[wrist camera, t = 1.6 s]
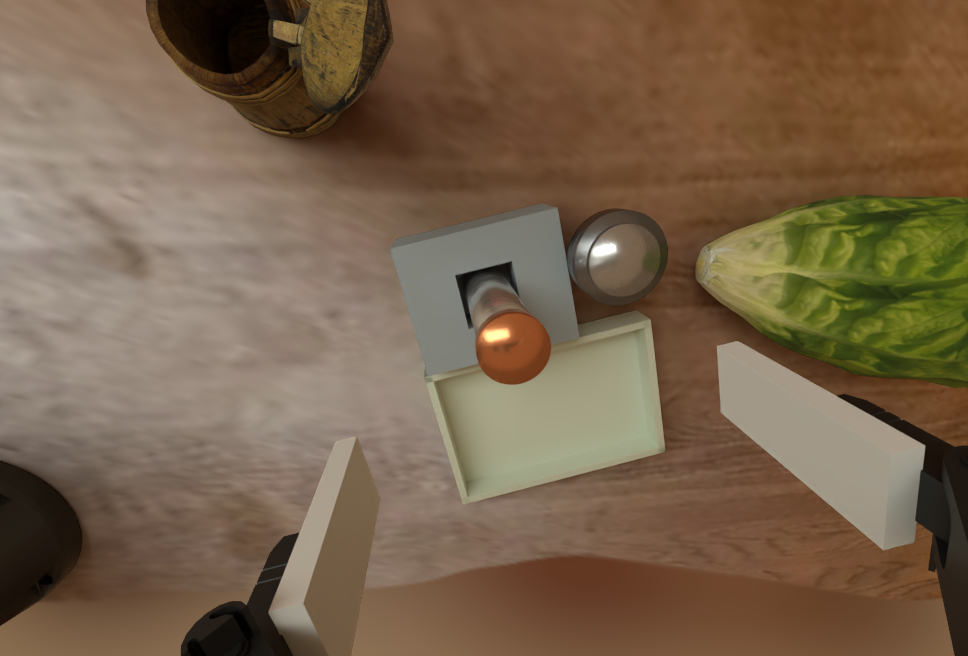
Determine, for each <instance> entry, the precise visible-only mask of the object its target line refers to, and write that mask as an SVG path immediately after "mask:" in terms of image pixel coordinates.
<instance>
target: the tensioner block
mask: <svg viewBox="0 0 968 656" xmlns="http://www.w3.org/2000/svg"><path fill="white" fill-rule="evenodd" d="M390 250H391V254H392V257H393V260H394V264H395V267H396V270H397V274H398V277H399V280H400V284H401V287H402V291H403V294H404V297H405V301H406V304H407V307H408V311H409V314H410V317H411V321H412V324H413V327H414V331H415V334H416V337H417V341H418V344H419V347H420V351H421V354H422V357H423V361H424V364H425V367H426V371H427V374H428V376H432V375H436V374H440V373H444V372H448V371H452V370H456V369H460V368H464V367H468V366H471V365H475V364H479V363H478V360H477V355H476V351H475V338H476V335H475V331H474V327H473V323H472V319H471V315H470V311H469V306H468V302H467V298H466V294H465V290H464V278H465V275H466V273H467V272H471V271H475V270H479V269H483V268H487V267H491V266H496V267H498V268H499V269H500V270H501V271H502V273H503V274H504V276H505V277H506V279H507V280H508V282H509V283H510V285H511V286H512V288H513V289H514V291H515V292H516V294H517V295H518V296H519V298H520V299H521V301H522V302H523V304H524V305H525V307H526V308H527V310H528V311H529V313H531V314H532V315H534V316H535V317H536V318H537V319H538V320H539V321H540V322H541V323H542V325H543V326H544V328H545V329H546V331H547V332H548V335H549V337H550V341H551V345H554V344H558V343H562V342H566V341H570V340H574V339H578V338H580V336H579V331H578V325H577V319H576V313H575V307H574V301H573V295H572V289H571V283H570V278H569V272H568V266H567V260H566V254H565V248H564V242H563V236H562V230H561V225H560V219H559V213H558V208H557V207H553V206H550V205H546V204H538V205H534V206H530V207H526V208H522V209H517V210H513V211H509V212H505V213H501V214H497V215H493V216H489V217H485V218H481V219H477V220H473V221H469V222H465V223H461V224H457V225H453V226H449V227H444V228H440V229H436V230H432V231H428V232H424V233H420V234H416V235H412V236H408V237H404V238H400V239H396V240H395V242H394V243H393V245H392V247H391V248H390Z"/></svg>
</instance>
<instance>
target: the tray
mask: <svg viewBox="0 0 968 656" xmlns="http://www.w3.org/2000/svg"><path fill="white" fill-rule="evenodd" d="M578 331H579V336H580V338H578V339H574V340H570V341H566V342H562V343H558V344H554V345H551V354H550V358H549V361H548V363H547V365H546V366H545V368H544V369H543V370H542V372H541V373H540V374H539V375H537V376H536V377H535V378H533V379H532V380H530V381H527V382H525V383H522V384H516V385H507V384H502V383H499V382H496V381H494V380H492V379H491V378H489V377H488V376H487V375H486V374H485V373H484V372H483V370H482V369H481V367H480V365H479V364H475V365H471V366H468V367H464V368H460V369H456V370H452V371H448V372H444V373H440V374H436V375H432V376H428V374H427V371H426V367H425V375H424V377H425V380H426V384H427V387H428V390H429V394H430V397H431V400H432V404H433V407H434V410H435V414H436V417H437V420H438V423H439V427H440V430H441V433H442V437H443V440H444V443H445V447H446V450H447V453H448V457H449V460H450V463H451V466H452V470H453V473H454V476H455V480H456V483H457V486H458V490H459V493H460V496H461V500H462V503H463V504H467V503H471V502H475V501H479V500H483V499H486V498H490V497H494V496H498V495H502V494H506V493H510V492H513V491H517V490H521V489H525V488H529V487H533V486H536V485H540V484H544V483H548V482H552V481H556V480H559V479H563V478H567V477H571V476H575V475H579V474H583V473H586V472H590V471H594V470H598V469H602V468H606V467H609V466H613V465H617V464H621V463H625V462H629V461H632V460H636V459H640V458H644V457H648V456H652V455H656V454H659V453H663V452H665V443H664V434H663V425H662V416H661V407H660V398H659V389H658V380H657V371H656V362H655V354H654V345H653V336H652V327H651V319H649V318H648V317H646V316H645V315H643V314H642V313H640V312H639V311H637V310H635V311H631V312H627V313H623V314H619V315H615V316H611V317H607V318H603V319H599V320H595V321H591V322H587V323H583V324H579V325H578Z"/></svg>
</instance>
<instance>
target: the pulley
mask: <svg viewBox="0 0 968 656" xmlns="http://www.w3.org/2000/svg"><path fill="white" fill-rule="evenodd" d="M667 256H668V248H667V242H666V239H665V236H664V234H663V231H662V230H661V228H660V227H659V225H658V224H657V223H656V222H655V221H654V220H653V219H651V218H650V217H648V216H647V215H645V214H642V213H640V212H636V211H631V210H626V209H607V210H604V211H600V212H598V213H596V214H594V215H592V216H591V217H589V218H588V219H587V220H585V221H584V222H583V223H582V224H581V225H580V226H579V228H578V229H577V230H576V232H575V234H574V235H573V237H572V240H571V242H570V245H569V249H568V268H569V272H570V274H571V277H572V279H573V280H574V282H575V283H576V285H577V286H578V287H579V288H580V289H581V290H582V291H583V292H585V293H586V294H587V295H589V296H590V297H591V298H593V299H594V300H596V301H598V302H600V303H603V304H606V305H613V306H618V305H626V304H630V303H633V302H635V301H637V300H639V299H641V298H643V297H644V296H645V295H647V294H648V293H649V292H650V291H651V290H652V289H653V288H654V287H655V286H656V285H657V283H658V282H659V280H660V279H661V277H662V275H663V273H664V270H665V267H666V263H667Z"/></svg>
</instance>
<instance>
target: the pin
mask: <svg viewBox="0 0 968 656" xmlns="http://www.w3.org/2000/svg"><path fill="white" fill-rule="evenodd" d="M464 290H465V294H466V298H467V302H468V306H469V311H470V315H471V319H472V323H473V327H474V331H475V335H476V338H475V351H476V355H477V360H478V363H479V365H480V367H481V369H482V370H483V372H484V373H485V374H486V375H487V376H488V377H489V378H491V379H492V380H494V381H496V382H499V383H502V384H507V385H516V384H522V383H525V382H527V381H530V380H532V379H533V378H535V377H536V376H537V375H539V374H540V373H541V372H542V370H543V369H544V368H545V366H546V365H547V363H548V361H549V358H550V354H551V341H550V337H549V335H548V332H547V331H546V329H545V328H544V326H543V325H542V323H541V322H540V321H539V320H538V319H537V318H536V317H535V316H534V315H532V314H531V313H529V311H528V310H527V308H526V307H525V305H524V304H523V302H522V301H521V299H520V298H519V296H518V295H517V294H516V292H515V291H514V289H513V288H512V286H511V285H510V283H509V282H508V280H507V279H506V277H505V276H504V274H503V273H502V271H501V270H500V269H499V268H498V267H496V266H491V267H487V268H483V269H479V270H475V271H471V272H467V273H466V275H465V278H464Z"/></svg>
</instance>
